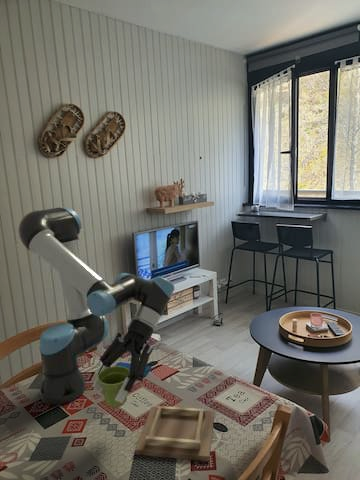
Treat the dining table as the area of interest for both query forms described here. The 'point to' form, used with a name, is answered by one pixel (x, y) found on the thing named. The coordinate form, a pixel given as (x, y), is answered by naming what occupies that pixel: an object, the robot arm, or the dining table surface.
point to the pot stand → (177, 433)
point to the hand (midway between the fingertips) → (106, 394)
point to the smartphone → (129, 367)
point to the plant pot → (113, 383)
